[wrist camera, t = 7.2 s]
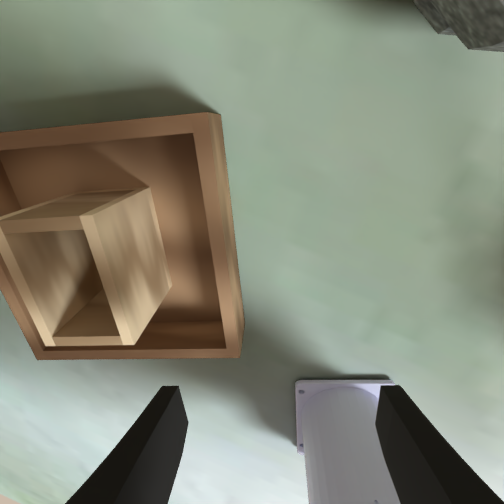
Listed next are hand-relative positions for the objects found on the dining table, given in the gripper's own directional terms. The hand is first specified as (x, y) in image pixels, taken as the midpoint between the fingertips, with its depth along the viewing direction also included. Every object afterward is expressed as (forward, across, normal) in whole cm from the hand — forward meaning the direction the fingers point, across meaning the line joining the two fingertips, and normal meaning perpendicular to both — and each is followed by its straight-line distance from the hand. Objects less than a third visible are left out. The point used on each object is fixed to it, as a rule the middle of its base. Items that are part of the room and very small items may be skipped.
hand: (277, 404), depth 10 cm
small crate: (+10, +10, -3) cm, 14 cm away
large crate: (+10, +10, -3) cm, 15 cm away
